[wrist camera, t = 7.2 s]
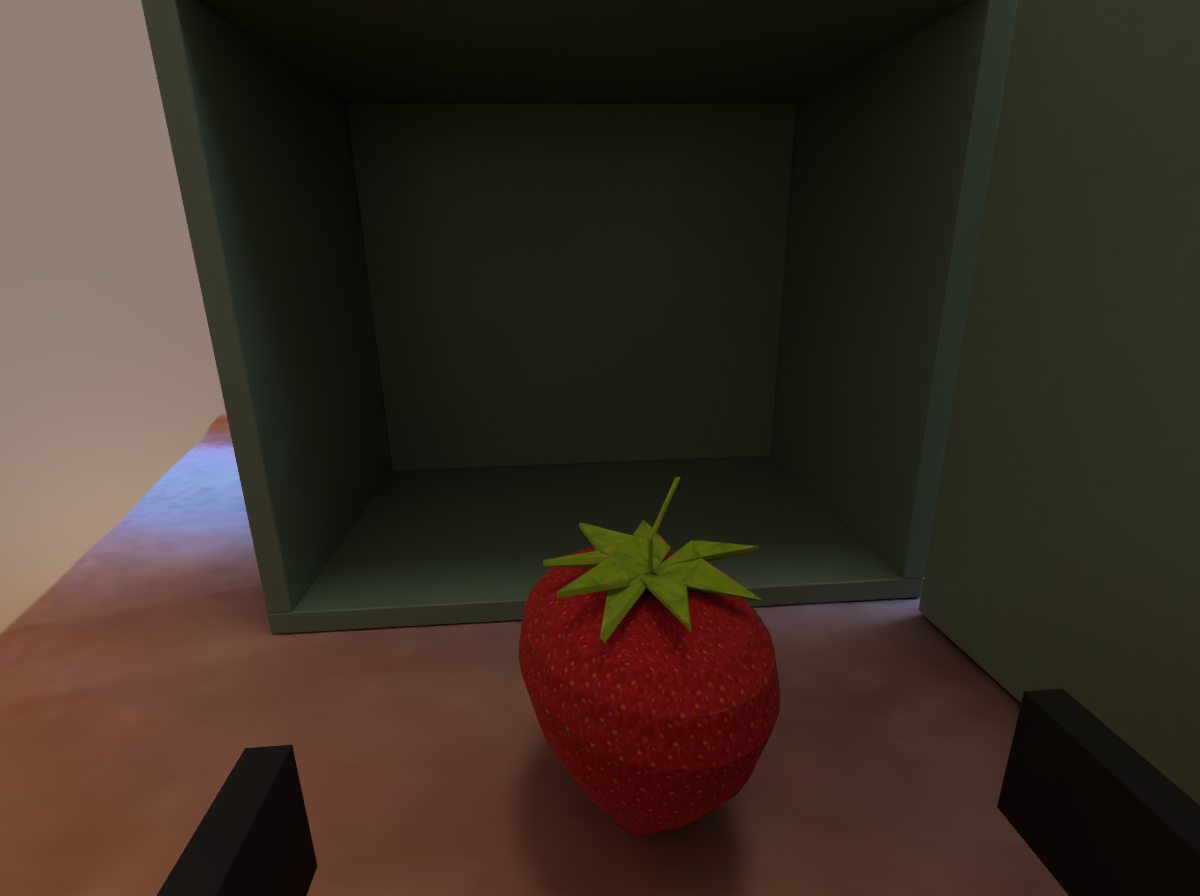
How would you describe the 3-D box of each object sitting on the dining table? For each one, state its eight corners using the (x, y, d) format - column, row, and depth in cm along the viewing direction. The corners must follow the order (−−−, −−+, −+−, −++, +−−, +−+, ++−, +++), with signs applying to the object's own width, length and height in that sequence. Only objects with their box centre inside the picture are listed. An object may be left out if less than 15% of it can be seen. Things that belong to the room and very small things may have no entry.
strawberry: (656, 700, 22) (661, 423, 19) (822, 885, 15) (870, 512, 12) (494, 764, 19) (468, 455, 16) (611, 1018, 13) (606, 589, 10)
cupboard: (921, 597, 28) (1026, -48, 20) (271, 634, 26) (126, -63, 18) (779, 464, 45) (808, 87, 37) (382, 480, 43) (330, 86, 35)
